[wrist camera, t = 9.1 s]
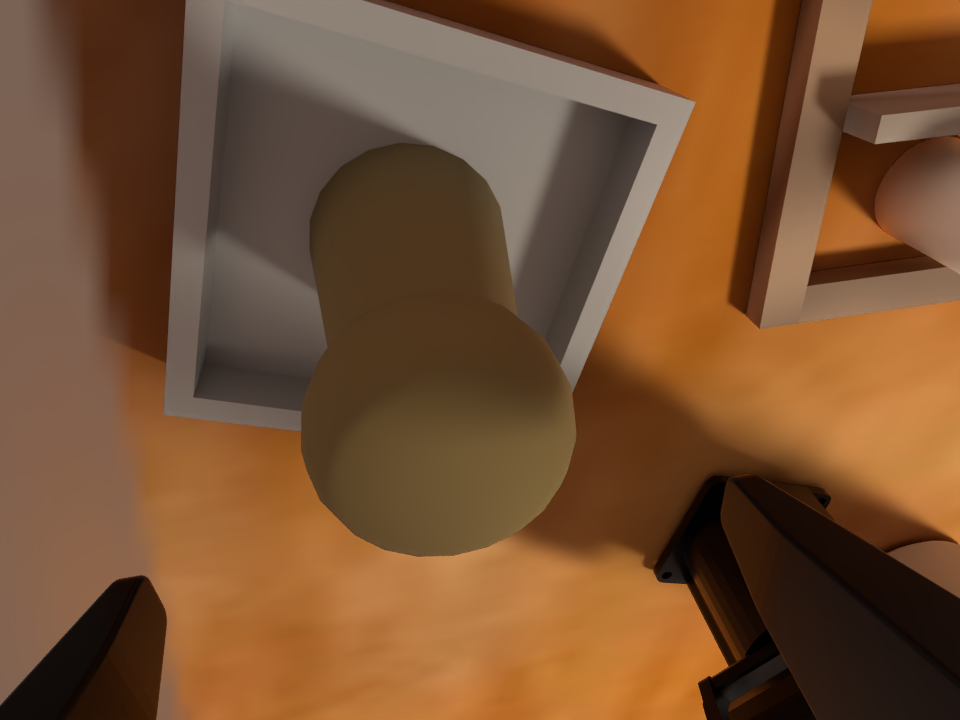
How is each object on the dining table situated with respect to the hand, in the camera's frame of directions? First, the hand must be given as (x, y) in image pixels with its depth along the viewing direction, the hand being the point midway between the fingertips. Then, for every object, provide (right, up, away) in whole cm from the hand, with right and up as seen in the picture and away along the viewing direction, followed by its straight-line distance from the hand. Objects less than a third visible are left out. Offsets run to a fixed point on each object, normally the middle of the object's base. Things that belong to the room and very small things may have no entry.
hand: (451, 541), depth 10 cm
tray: (-2, +7, +11) cm, 13 cm away
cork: (-2, +7, +10) cm, 12 cm away
